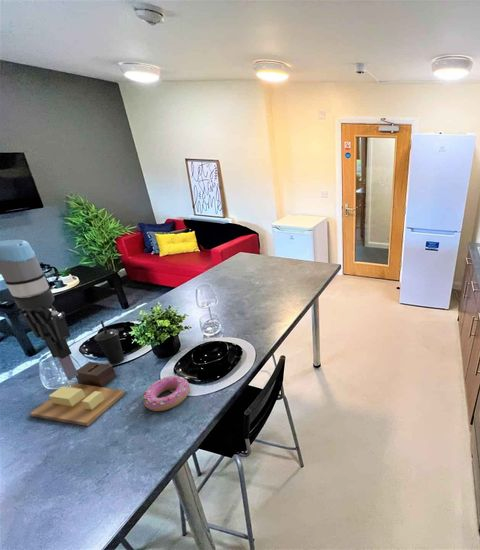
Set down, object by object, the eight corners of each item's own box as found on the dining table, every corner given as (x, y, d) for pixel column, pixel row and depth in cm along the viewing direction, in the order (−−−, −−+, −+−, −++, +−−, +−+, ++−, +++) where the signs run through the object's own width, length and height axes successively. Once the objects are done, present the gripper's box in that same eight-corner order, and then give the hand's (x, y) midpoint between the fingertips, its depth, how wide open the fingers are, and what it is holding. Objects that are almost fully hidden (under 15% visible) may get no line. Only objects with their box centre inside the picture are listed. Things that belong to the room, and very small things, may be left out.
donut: (170, 379, 116) (167, 370, 114) (199, 388, 112) (196, 378, 110) (135, 407, 103) (130, 397, 101) (166, 418, 100) (163, 408, 98)
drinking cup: (128, 352, 129) (114, 314, 121) (127, 362, 124) (113, 323, 115) (106, 358, 125) (90, 319, 117) (104, 369, 120) (87, 329, 111)
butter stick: (52, 403, 102) (48, 395, 100) (66, 393, 106) (62, 385, 104) (72, 406, 101) (68, 399, 99) (85, 396, 105) (82, 389, 104)
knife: (65, 380, 97) (43, 336, 90) (75, 373, 100) (54, 331, 93) (71, 381, 97) (50, 337, 90) (80, 374, 100) (60, 331, 92)
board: (31, 416, 98) (29, 413, 98) (74, 385, 111) (72, 382, 111) (87, 426, 96) (86, 422, 95) (125, 393, 109) (124, 390, 108)
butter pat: (85, 408, 100) (81, 401, 99) (98, 398, 105) (94, 390, 103) (91, 409, 100) (88, 402, 99) (104, 399, 104) (101, 391, 103)
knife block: (79, 384, 112) (73, 372, 109) (94, 373, 117) (89, 361, 115) (102, 387, 111) (96, 375, 108) (116, 376, 116) (111, 364, 114)
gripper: (68, 289, 88) (94, 351, 97) (25, 284, 89) (55, 345, 99) (39, 301, 81) (70, 366, 90) (-7, 295, 82) (28, 359, 92)
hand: (62, 355), depth 95 cm, fingers closed on knife, 2 cm apart
